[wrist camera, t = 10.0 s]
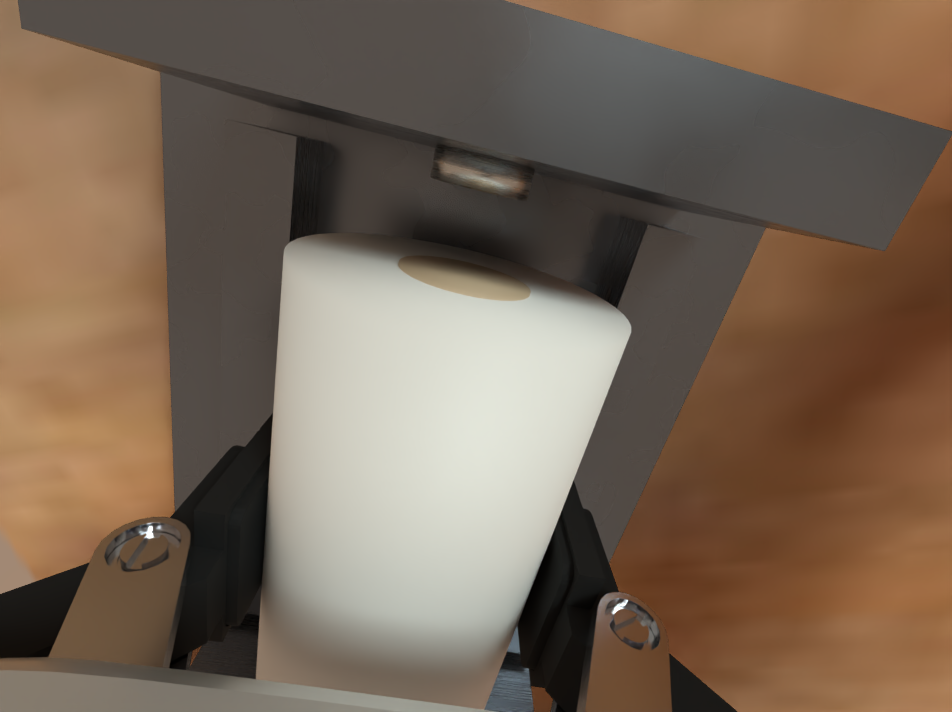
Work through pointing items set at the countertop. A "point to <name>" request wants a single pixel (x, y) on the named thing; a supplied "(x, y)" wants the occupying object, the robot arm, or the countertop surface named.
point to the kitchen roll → (419, 459)
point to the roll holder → (476, 194)
